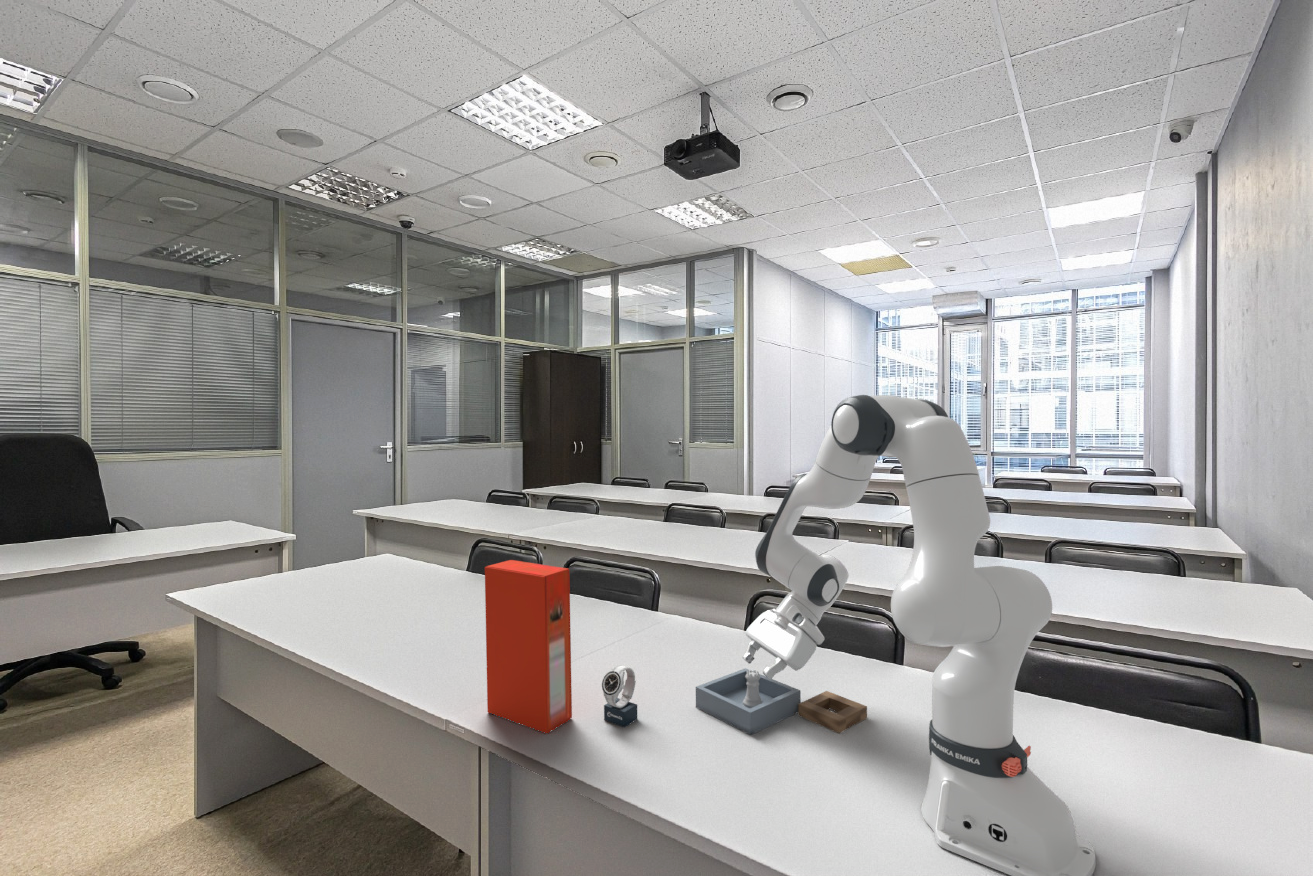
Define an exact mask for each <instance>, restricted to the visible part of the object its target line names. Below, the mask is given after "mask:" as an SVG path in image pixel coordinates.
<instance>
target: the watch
mask: <svg viewBox="0 0 1313 876" xmlns="http://www.w3.org/2000/svg"><path fill="white" fill-rule="evenodd" d="M625 672H626V674H625ZM625 675H626V679H625V681H624V678H625ZM636 681H637V680H636V674H635V671H634V670H633V668H631V667H628V666H624V665H621V664H620V665H617V666H615V667H613V668H611V669H610V671H608V672H607V673H606V674H605V675H604V676H603V678H602V682H601V689H602V692H603V693H602V694H603V697H604V699H605V701H606V704H604V705H603V718H604V719H603V720H604V721H606V722H609V723H611V724H614V725H617V726H619V727H623V728H626V727H628V726H629V725H630V723H631V724H632V723H634V722H635V721H637V720H638V703H637V704H636V703H635V702H630V700H632V699H633V695H634V692H635V687H636ZM622 690H623V691H622ZM621 692H622V694H621V695H622V696H621V698H618V697H619V695H620V693H621ZM633 721H634V722H633Z"/></svg>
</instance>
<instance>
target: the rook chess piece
mask: <svg viewBox="0 0 1313 876" xmlns="http://www.w3.org/2000/svg"><path fill="white" fill-rule="evenodd" d="M748 670H749V671H747V674H746V676H745V678H746V679H747V683H746V684H747V694H746V696H745V699H744V700H743V704H744V705H743V706H745V707H747V708H749V709H750V708H753V707H755V706H757V705H760V704H762V703H763V701H762V700H761V697H760V695H759V685H760V684H759V682H758V681H759V679H760V678H761V677H760V675H759V674H760V673H759V671H758V670H754V669H753V670H751V669H748ZM751 671H753V672H751Z"/></svg>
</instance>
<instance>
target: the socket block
mask: <svg viewBox="0 0 1313 876" xmlns="http://www.w3.org/2000/svg"><path fill="white" fill-rule="evenodd" d="M798 716H799V717H800V718H804V719H805V720H807V721H809V722H812V723H814V724H817V725H818V726H821V727H823V728H826V729H828V730H831V731H833V732H835V733H838V734H842V733H843V732H845V731H846V730H848V729H850V728H852V727H854V726H855V725H857V724H859V723H861V722H862V721H864V720H867V719H868V706H866V705H865V704H862V703H859V702H856V701H854V700H852V699H849V698H847V697H844V696H842V695H839V694H836V693H833V692H831V691H828V690H825V691H823V692H821V693H819V694H817V695H813V696H812V697H810V698H808V699H806V700H803V701H802V702H801V703H799V712H798Z"/></svg>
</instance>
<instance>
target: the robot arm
mask: <svg viewBox="0 0 1313 876" xmlns="http://www.w3.org/2000/svg"><path fill="white" fill-rule="evenodd" d="M880 457H886V458H896V459H897V460H898V462H899V463H900V466H901V468H902V473H903V479H904V484H905V489H906V492H907V493H906V494H907V498H908V504H909V508H910V513H911V519H912V520H911V521H912V526H913V549H912V554H911V555H912V556H911V559H910V563H909V564H908V565H909V566H908V568H907V570H906V572H905V574H904V576H903V577H902V578H901V579H900V581H899V582H898V583H897V584H896V585H895V587H894V589H893V591H892V595H891V599H890V609H891V616H892V619H893V623H894V624H895V626H896V627H897V629H898V631H899V632H900V633H901V634H902V635H903V636H904V638H906V639H907V640H908V641H909V642H911V643H914V644H916V645H923V646H929V647H939V648H949V647H952V649H951V650H950V652H949V654H948V655H947V656H946V658H944V659H943V661H941V662H940V663H939V665H938V666H937V667H936V668H935V670H934V672H933V674H932V678H931V710H932V711H931V714H932V715H931V720H930V721H929V728H928V729H929V730H928V732H929V733H928V750H929V755H930V767H929V776H928V781H927V786H926V791H925V795H924V798H923V800H922V804H921V807H920V808H921V809H920V810H921V812H920V813H921V816H922V817H923V819H924V821H925V822H926V824H927V825H928V826H929V827H930V828H931V829H932V831H933V832H934V837H935V841H936V843H937V844H938V845H939V847H941V848H943V849H944V850H947V851H949V852H952V853H954V854H956V855H960V856H962V857H964V858H967V859H970V860H971V861H974V862H977V863H979V864H982V865H984V866H986V867H989V868H992V869H993V870H996V871H998V872H1002V873H1003V874H1006V875H1009V876H1093V874H1094V872H1095V870H1096V865H1097V861H1096V860H1097V859H1096V853H1095V850H1094V847H1093V845H1092V844H1091V843H1090V841H1089V840H1087V839H1086V838H1083V837H1081V836H1079V835H1078V834H1077V833H1076V828H1075V827H1076V826H1075V823H1074V820H1073V819H1074V818H1073V816H1072V812H1071V811H1070V809H1069V807H1068V805H1067V804H1066V802H1064V800H1062V799H1061V797H1059V796H1058V795H1057V794H1056V793H1055V792H1054V791H1052V789H1051V788H1050V787H1048V785H1046V784H1045V782H1044V781H1042V780H1041V779H1040V777H1039V776H1037V775H1036V773H1034V772H1033V771H1032V770H1031V769H1030V767H1028V758H1029V757H1030V756H1031V753H1032V751H1031V748H1032V746H1031V745H1028V746H1027V747H1026V748H1024V749H1023V747H1022V746H1021V745H1020V744H1019V742H1018V741H1017V738H1016V737H1015V735H1014V703H1015V701H1014V699H1015V688H1016V683H1017V679H1018V676H1019V672H1020V668H1021V666H1022V663H1023V661H1024V658H1025V655H1026V654H1027V652H1028V649H1029V647H1030V645H1031V643H1032V641H1033V640H1034V638H1035V637H1036V635H1037V634H1038V633H1039V632H1040V631H1041V630H1042V629H1043V628H1044V627H1045V626H1046V625H1047V624H1048V623H1049V621H1050V619H1051V617H1052V612H1053V601H1052V597H1051V593H1050V591H1049V588H1048V587H1047V586H1046V584H1045V582H1044V581H1043V580H1042V579H1041V578H1040V577H1039V576H1038V575H1036V574H1035V573H1033V572H1032V571H1029V570H1027V569H1023V568H1017V567H1011V566H1003V565H992V566H991V565H990V566H978V567H975V552H976V548H977V544H978V541H979V540H980V539H981V538H982V537H984V536H985V535H986V533H987V532H988V530H989V528H990V527H991V516H990V513H989V509H988V505H987V500H986V496H985V493H984V489H983V485H982V481H981V477H980V473H979V469H978V466H977V463H976V460H975V456H974V454H973V451H972V449H971V446H970V444H969V442H968V440H967V437H966V435H965V433H964V431H963V429H962V428H961V426H960V425H959V423H958V422H957V421H956V420H955V419H953V418H950V417H949V415H948V413H947V412H946V411H945V409H944V408H943V407H942V406H940V405H939V404H938V403H935V402H933V401H929V400H927V399H924V398H923V399H922V398H910V397H905V396H903V397H902V396H897V395H892V394H891V395H890V394H888V395H887V394H884V395H883V394H881V395H880V394H878V395H868V394H860V395H854V396H850V397H847V398H845V399H843V400H842V401H840V402H839V403H838V404H837V406H836V407H835V408H834V411H833V413H832V417H831V424H830V426H829V428H828V429H827V431H826V433H825V435H824V437H823V440H822V442H821V444H820V447H819V450H818V452H817V455H816V458H815V461H814V464H813V466H812V467H811V469H810V470H809V471H808V472H807V473H801V474H800V475H799V476H797V477H796V478H795V479H794V481H793V482H792V483H791V484H790V486H789V487H788V490H787V491H786V494H784V497H783V499H782V500H781V503H780V505H779V507H778V509H777V511H776V513H775V515H774V517H773V519H772V521H771V524H770V525H769V527H768V528H767V529H768V530H767V531H766V532H765V534H764V535H763V537H762V538H761V540H760V541H759V543H758V545H757V546H756V549H755V556H754V557H755V562H756V565H757V569H758V570H759V571H760V572H762V573H764V574H765V575H767V576H768V577H771V578H772V579H775V580H776V581H777V582H778V583H780V584H782V585H783V586H784V587H786V588H787V589H788V590H790V592H789V593H787V594H786V595H785V597H784V598H783V599H782V601H781V602H780V603H779V605H778V606H777V607H776V608H771V609H768V610H766V611H763V612H762V613H760V615H758V616H757V617H756V618H755V620H753V622H751V624H750V625H749V626H748V627H747V629H746V631H745V635H746V637H747V638H748V639H749V641H750V642H749V643H748V646H747V649H746V652H744V655H743V656H742V659H743V660H744V661H745V662H746V663H748V665H749V664H752V662H753V661H754V660H755V657H754V656H755V654H756V651H757V652H758V651H759V650H760V649H763V650H764V651H766V652H767V653H769V654H770V655H772V656H773V657H775V660H774V663H773V664H771V665H770V666H767V665H766V667H765V668H764V670H763V671H762V675H763V676H766V677H767V678H768V679H774V677H775V675H776V674H778V673H780V672H781V671H784V670H785V669H786V667H787V666H788V667H789V668H790V669H792V670H794V671H799V670H801V669H803V668H804V666H806V665H807V663H808V662H809V660H810V659H811V658H812V656H813V655H814V653H815V652H816V650H817V645H818V646H820V645H822V644H823V642H824V641H825V636H824V635H823V633H822V632H821V630H820V629H819V627H818V626H817V625H818V623H819V622H820V621H821V619H822V616H823V614H824V613H825V612H826V611H827V610H829V609H830V608H831V606H833V604H834V603H835V602H836V600H837V599H838V597H839V596H840V595H841V593H842V591H843V589H844V587H845V586H846V583H847V582H848V579H849V571H848V569H847V568H846V566H845V565H844V564H843V563H842V562H841V561H840V560H839V559H838V558H837V557H835V556H833V555H830V554H823V555H819V554H818V553H816V552H815V551H813V550H811V549H809V548H808V547H806V546H804V545H803V544H801V542H798V541H797V540H796V538H795V537H794V535H793V533H794V530H795V528H796V526H797V524H798V523H799V520H800V519H801V517H802V516H803V513H804V511H805V510H806V508H807V507H812V508H813V507H814V508H818V509H819V508H820V509H826V510H839V509H845V508H846V509H847V508H848V507H852V506H853V505H855V504H857V503H858V502H860V500H861V499H862V498H863V496H864V495H865V493H866V491H867V488H868V486H869V484H870V480H871V478H872V475H873V472H874V469H875V465H876V462H877V460H878V458H880Z"/></svg>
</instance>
